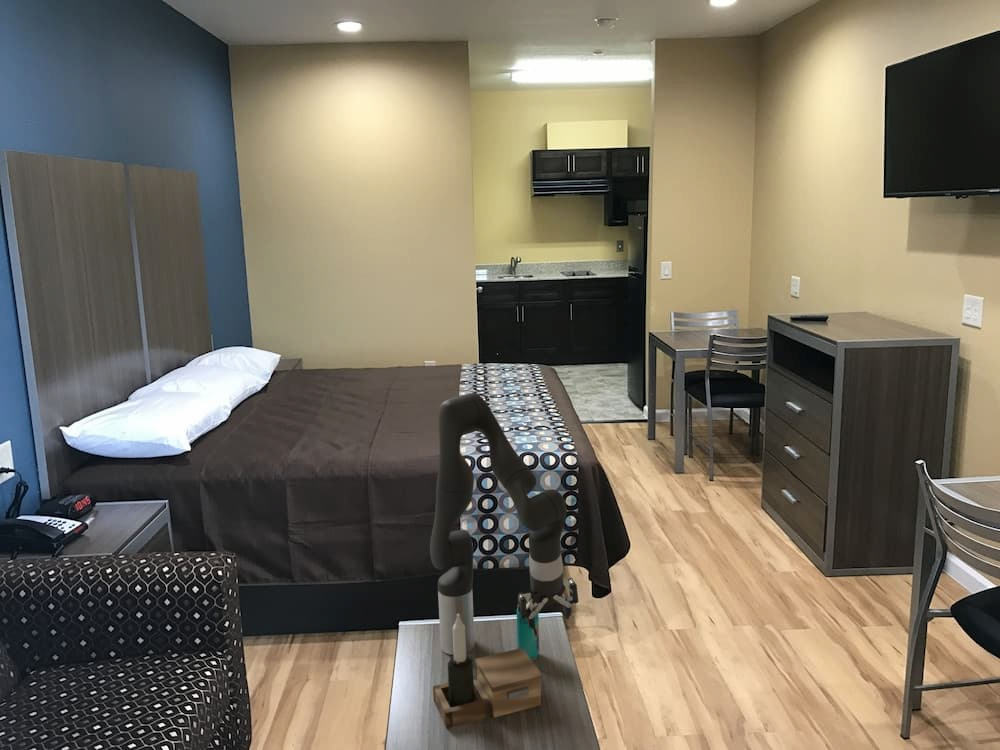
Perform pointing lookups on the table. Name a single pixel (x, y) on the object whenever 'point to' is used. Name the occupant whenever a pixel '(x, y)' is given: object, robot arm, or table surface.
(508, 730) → the table surface
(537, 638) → the beverage can
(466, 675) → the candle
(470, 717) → the wooden box
